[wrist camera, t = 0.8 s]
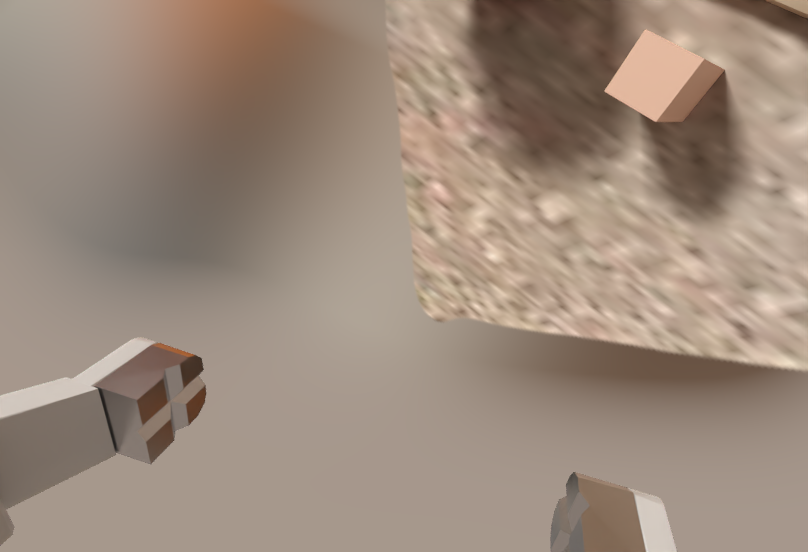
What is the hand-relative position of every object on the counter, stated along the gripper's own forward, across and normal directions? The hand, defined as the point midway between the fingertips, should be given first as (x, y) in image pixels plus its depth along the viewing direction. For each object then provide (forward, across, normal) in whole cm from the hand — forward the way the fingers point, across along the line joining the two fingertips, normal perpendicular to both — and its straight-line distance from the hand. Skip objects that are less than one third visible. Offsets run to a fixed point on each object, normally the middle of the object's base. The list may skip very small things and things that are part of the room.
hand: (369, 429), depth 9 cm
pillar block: (+39, -13, -7) cm, 42 cm away
